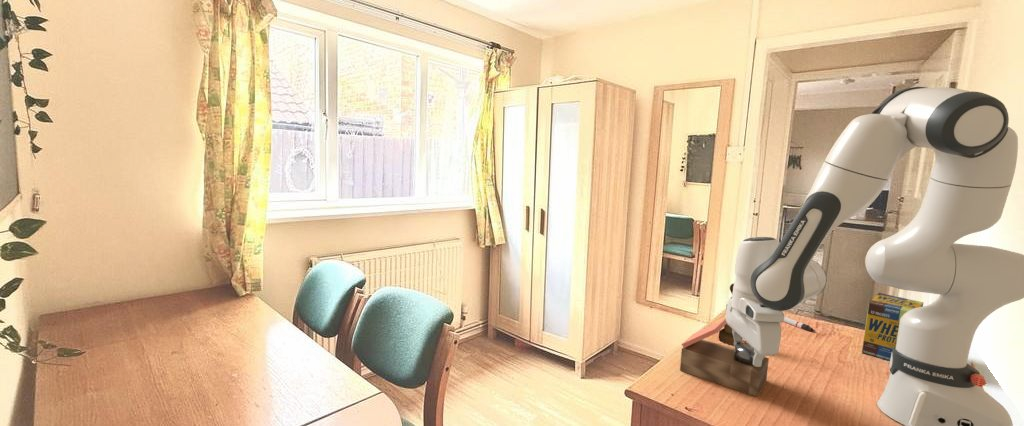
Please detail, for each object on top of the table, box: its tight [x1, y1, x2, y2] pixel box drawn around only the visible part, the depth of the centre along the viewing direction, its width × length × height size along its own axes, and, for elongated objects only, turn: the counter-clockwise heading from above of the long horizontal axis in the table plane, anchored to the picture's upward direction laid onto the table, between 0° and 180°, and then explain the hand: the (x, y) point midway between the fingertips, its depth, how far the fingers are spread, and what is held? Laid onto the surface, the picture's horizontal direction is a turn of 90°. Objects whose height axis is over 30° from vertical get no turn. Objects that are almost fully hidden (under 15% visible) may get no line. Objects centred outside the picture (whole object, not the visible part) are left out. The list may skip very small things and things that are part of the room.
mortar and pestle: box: [718, 283, 734, 346], centre depth 131 cm, size 7×6×18 cm
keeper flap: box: [681, 319, 727, 348], centre depth 113 cm, size 10×9×1 cm
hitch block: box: [679, 339, 770, 397], centre depth 110 cm, size 18×10×6 cm, turn 49°
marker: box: [782, 315, 816, 332], centre depth 147 cm, size 15×2×2 cm, turn 22°
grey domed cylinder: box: [734, 343, 755, 366], centre depth 107 cm, size 6×6×8 cm
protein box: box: [861, 292, 924, 362], centre depth 126 cm, size 10×15×16 cm
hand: (746, 356), depth 106 cm, fingers open, 8 cm apart
